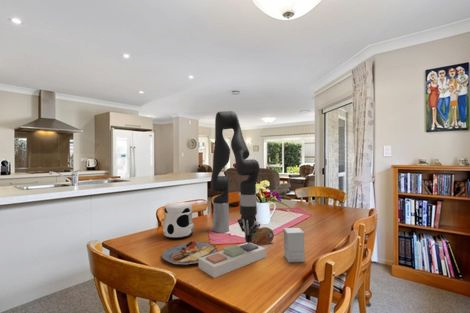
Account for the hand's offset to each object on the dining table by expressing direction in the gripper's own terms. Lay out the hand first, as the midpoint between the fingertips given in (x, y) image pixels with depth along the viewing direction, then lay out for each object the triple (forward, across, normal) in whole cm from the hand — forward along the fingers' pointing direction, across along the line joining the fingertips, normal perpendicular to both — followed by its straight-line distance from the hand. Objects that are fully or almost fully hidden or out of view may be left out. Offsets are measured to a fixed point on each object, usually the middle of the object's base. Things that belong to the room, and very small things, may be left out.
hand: (248, 242), depth 113 cm
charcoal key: (+5, 0, 0) cm, 5 cm away
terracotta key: (+5, 0, -18) cm, 19 cm away
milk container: (+7, -49, -9) cm, 50 cm away
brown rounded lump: (+7, -8, +15) cm, 18 cm away
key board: (+6, 0, -9) cm, 11 cm away
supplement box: (+7, +15, +13) cm, 21 cm away
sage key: (+3, 0, -9) cm, 10 cm away
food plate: (+7, -19, -19) cm, 28 cm away
